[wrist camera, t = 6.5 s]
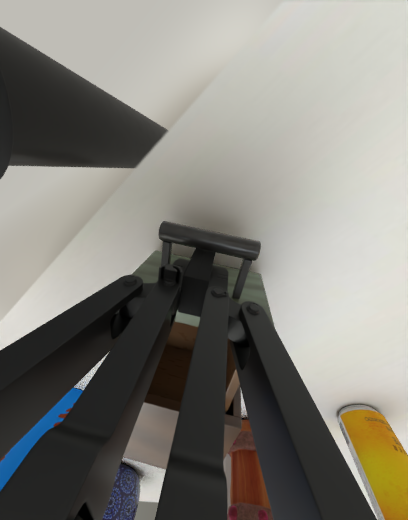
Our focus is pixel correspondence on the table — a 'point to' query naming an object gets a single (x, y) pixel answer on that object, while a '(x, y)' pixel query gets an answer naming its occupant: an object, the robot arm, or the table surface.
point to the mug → (247, 480)
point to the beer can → (377, 460)
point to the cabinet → (171, 429)
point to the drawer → (185, 326)
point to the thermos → (36, 435)
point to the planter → (123, 495)
